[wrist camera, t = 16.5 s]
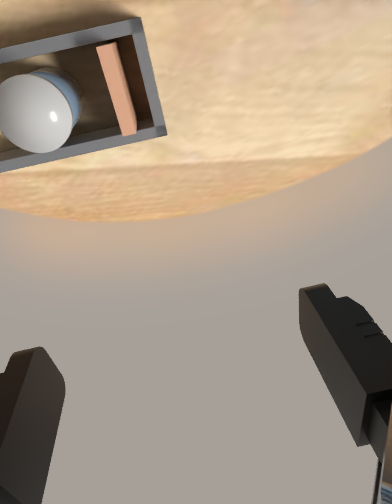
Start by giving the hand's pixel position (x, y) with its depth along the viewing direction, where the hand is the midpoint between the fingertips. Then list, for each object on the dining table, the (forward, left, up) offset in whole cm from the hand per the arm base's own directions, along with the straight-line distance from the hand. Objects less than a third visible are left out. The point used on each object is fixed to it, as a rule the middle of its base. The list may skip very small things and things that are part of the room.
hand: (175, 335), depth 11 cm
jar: (-4, -9, -30) cm, 32 cm away
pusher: (-4, -2, -30) cm, 30 cm away
